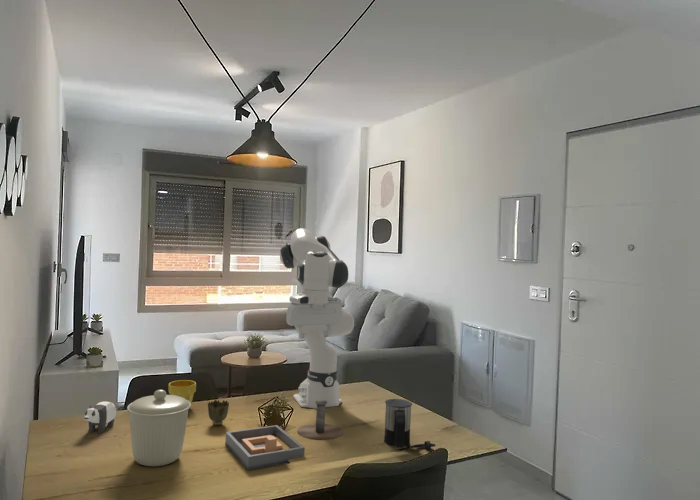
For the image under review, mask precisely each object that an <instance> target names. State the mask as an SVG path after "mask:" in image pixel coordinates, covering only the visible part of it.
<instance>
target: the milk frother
mask: <svg viewBox="0 0 700 500" xmlns="http://www.w3.org/2000/svg"><path fill="white" fill-rule="evenodd" d="M384 403H385V414H384V415H385V416H384V437H383V442H384V443H385V444H386V445H389V446H392V447H396V448H397V449H394V451H407V450H409V449H413V448H419V449H420V448H424V449H425V450H431V448H432V447H436V444H435V443H432V442H431V441H430V440H427V441H423V442H424V443H418V444H414V445H413V444H412V445H411V421H412V420H411V419H412V418H411V417H412V405H413V403H412V402H411V401H409V400H406V399H402V398H390V399H386V400H385V401H384Z"/></svg>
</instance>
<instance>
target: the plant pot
mask: <svg viewBox="0 0 700 500" xmlns="http://www.w3.org/2000/svg"><path fill="white" fill-rule="evenodd" d="M196 392H197V383H196V381H194V380H191V379H190V380H189V379H188V380H187V379H180V380H174V381H171V382H169V383H168V393H169V395H175V396H180V397H182V398H184V399H186V400H188V401H189V402H190V403H191V405H192V403H193V398H194V394H195V393H196ZM191 407H192V406H191ZM191 407H190V408H189V409H191ZM189 409H188V410H189Z"/></svg>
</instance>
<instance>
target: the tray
mask: <svg viewBox="0 0 700 500" xmlns="http://www.w3.org/2000/svg"><path fill="white" fill-rule="evenodd" d="M267 435H276V436H277V438H279V439H281V440H282V441H283V443H286V445H288V446H289V448H287V449H278V450H277V451H273V452H267V453H261V454H255V455H252V454H251V453H250V452H249V451H248V450H247V449H246V448H245V447H244V446H243V445H242V439H247V438H254V437H260V436H267ZM252 445H253V446H254V447H255V448H257V447H264V446H265V442H262V443H256V444H252ZM225 446H226V447H227V448H228V450H230V452H231V453H232V454H233V455H234V456H235V457H236V458H237V460H238V461H239V462H240V463H241V464H242V466H243V467H244V468H245V469H246V470H247V471H252V470H258V469H265V468H269V467H270V468H271V467H276V466H281V465H287V464H291V462H290V461H289V460H288V459H294V458H299V457H300V458H301V457H304V456H305V446H303V445H302V444H301V443H300V442H299V441H297V440H296V439H295V438H294V437H293V436H292V435H290V434H289V433H288V432H286V430H284V429H283V428H282V427H280V426H279V425H278V424H275V425H268V426H260V427H252V428H245V429H239V430H231V431H226V432H225Z"/></svg>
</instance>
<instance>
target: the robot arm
mask: <svg viewBox="0 0 700 500" xmlns="http://www.w3.org/2000/svg"><path fill="white" fill-rule="evenodd" d="M279 259H280V262H281V263H282V265H283V266H284V268H287V269H295V268H297V278H296V280H297V281H298V282H299V283H300V286H301V290H302V291H301V292H299V293H297V294H294V295H291V296H290V297H289V302H290V304H288V306H287V309H286V316H285V317H286V319H285V321H286V324H287V325H288V326H291V327H292V326H293V327H295V331H296V332H297V334H298V339H303V340H304V341H305V343H306V345H307V346H308V350H309V368H308V369H307V376H306V379H304V380H303V381H302V382H301V383H300V384H299V386H298V388H297V393H295V394H293V399H294V400H295V401H296V403H298V405H299V407H302V408H310V409H317V404H316V400H325V401H327V404H325V408H328V407H336V406H337V407H339V405H340V404H341V403H342V402H343V401H342V400H343V399H341V397H340V383H339V381H338V370H337V366H338V365H337V362H338V353H337V351H336V349H335V348H334V347H332V346H331V345H329V344H327V338H335V337H337V338H338V337H342V336H347V335H350V334H351V333H352V331H353V330H354V327H355V319H354V316H353V314H352V313H351V312H350V311H348V310H345V309H344V308H342V306H343V301H342V300H341V299H340V298H338V297H333V296H332V294H331V291H330V289H329V288H331V287H332V288H338V289H341V288H342V287H343V286H344V285H345V284H346V283H348V280H349V268H348V265H347V264H346V262H344V260H342V259H341V260H340V258H338V256H337V255H336V253H334V252H333V250H331V244H330V241H328V239H327V237H326V236H324V235H316V236H315V235H314V233H313V232H312V231H310V230H309V229H307V228H303V227H301V228H297V229H296V230H294V231H293V233H292V234H291V237H290V241H289V243H288V242H287V243H285V245H283V246H281V248H280V252H279Z"/></svg>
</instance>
